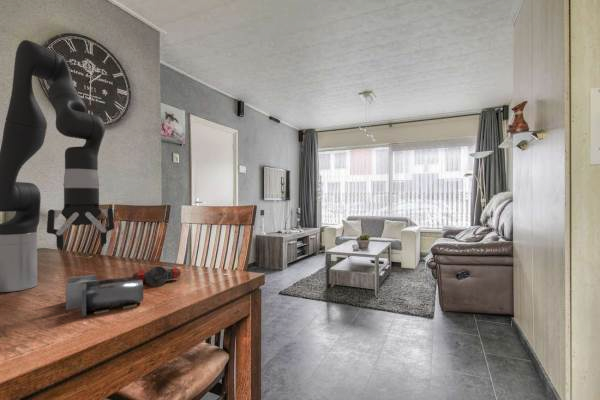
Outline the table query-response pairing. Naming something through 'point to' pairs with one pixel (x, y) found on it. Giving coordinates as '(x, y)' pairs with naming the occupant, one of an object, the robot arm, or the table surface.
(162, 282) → the valve
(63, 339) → the table surface
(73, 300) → the coupling
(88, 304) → the pipe stub
